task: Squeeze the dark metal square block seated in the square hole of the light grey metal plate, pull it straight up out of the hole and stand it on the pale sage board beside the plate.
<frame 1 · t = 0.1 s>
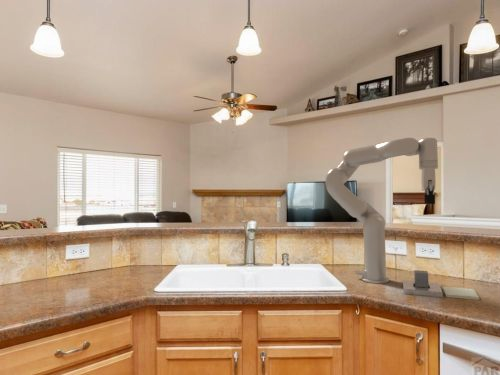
hand: (429, 203, 152), 36 cm above the worktop, tool pointing down, fingers open, 9 cm apart
socket plate: (421, 290, 142), on the worktop
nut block: (421, 281, 143), in the socket plate
board: (460, 294, 137), on the worktop
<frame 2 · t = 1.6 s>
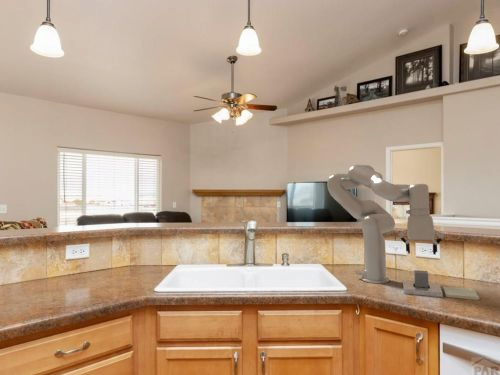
hand: (421, 253, 142), 16 cm above the worktop, tool pointing down, fingers open, 9 cm apart
nothing on the worktop moved.
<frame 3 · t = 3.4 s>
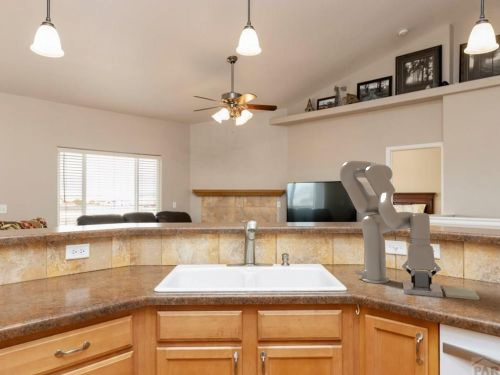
hand: (421, 284, 143), 2 cm above the worktop, tool pointing down, fingers closed on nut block, 5 cm apart
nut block: (421, 281, 143), in the socket plate, touching gripper
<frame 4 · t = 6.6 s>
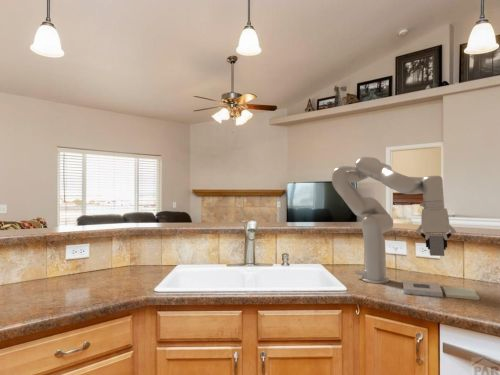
hand: (436, 248, 140), 18 cm above the worktop, tool pointing down, fingers closed on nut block, 5 cm apart
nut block: (436, 245, 140), point 20 cm above the worktop, touching gripper
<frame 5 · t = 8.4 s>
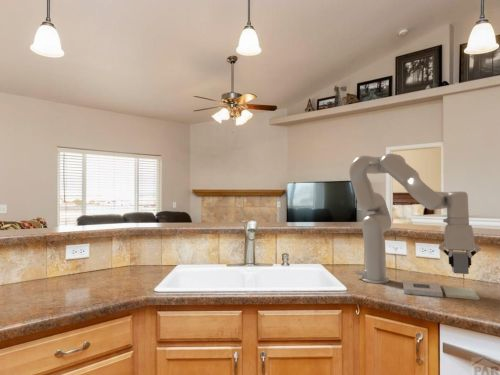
hand: (460, 266, 137), 11 cm above the worktop, tool pointing down, fingers closed on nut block, 5 cm apart
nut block: (459, 262, 137), point 13 cm above the worktop, touching gripper
when the fingers open (4 cm above the worktop, at t = 10.0 s): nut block stays where it is, resting on board.
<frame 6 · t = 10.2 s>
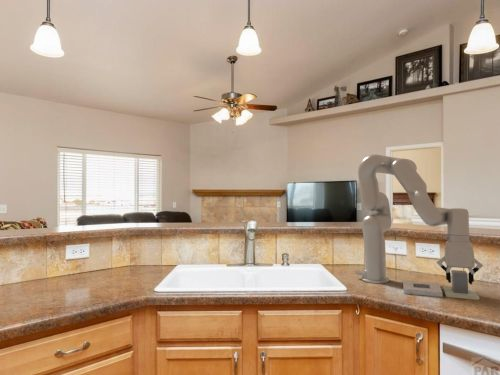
hand: (459, 282, 137), 5 cm above the worktop, tool pointing down, fingers open, 6 cm apart
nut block: (459, 281, 137), on the board, point 5 cm above the worktop
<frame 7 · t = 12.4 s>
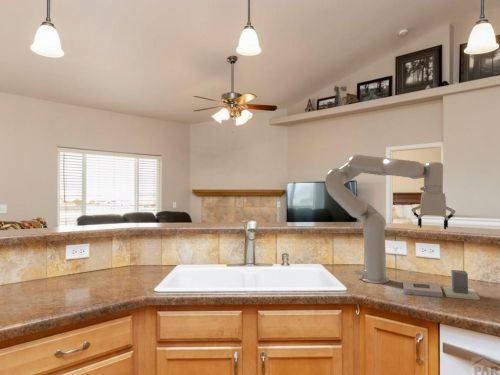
hand: (432, 228, 151), 25 cm above the worktop, tool pointing down, fingers open, 9 cm apart
nothing on the worktop moved.
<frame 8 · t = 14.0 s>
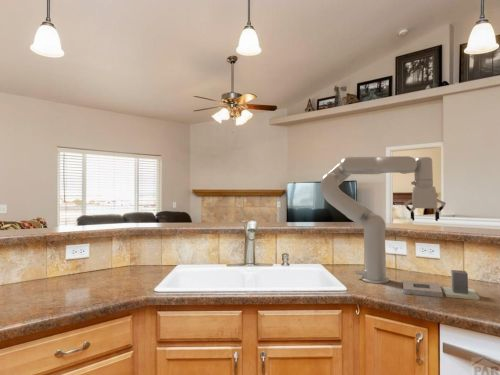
hand: (424, 220, 156), 28 cm above the worktop, tool pointing down, fingers open, 9 cm apart
nothing on the worktop moved.
at the end: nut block inside the target area on the board (0.1 cm from its centre), point 5.0 cm above the board's base; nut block tilted 0°; the gripper is holding nothing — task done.
